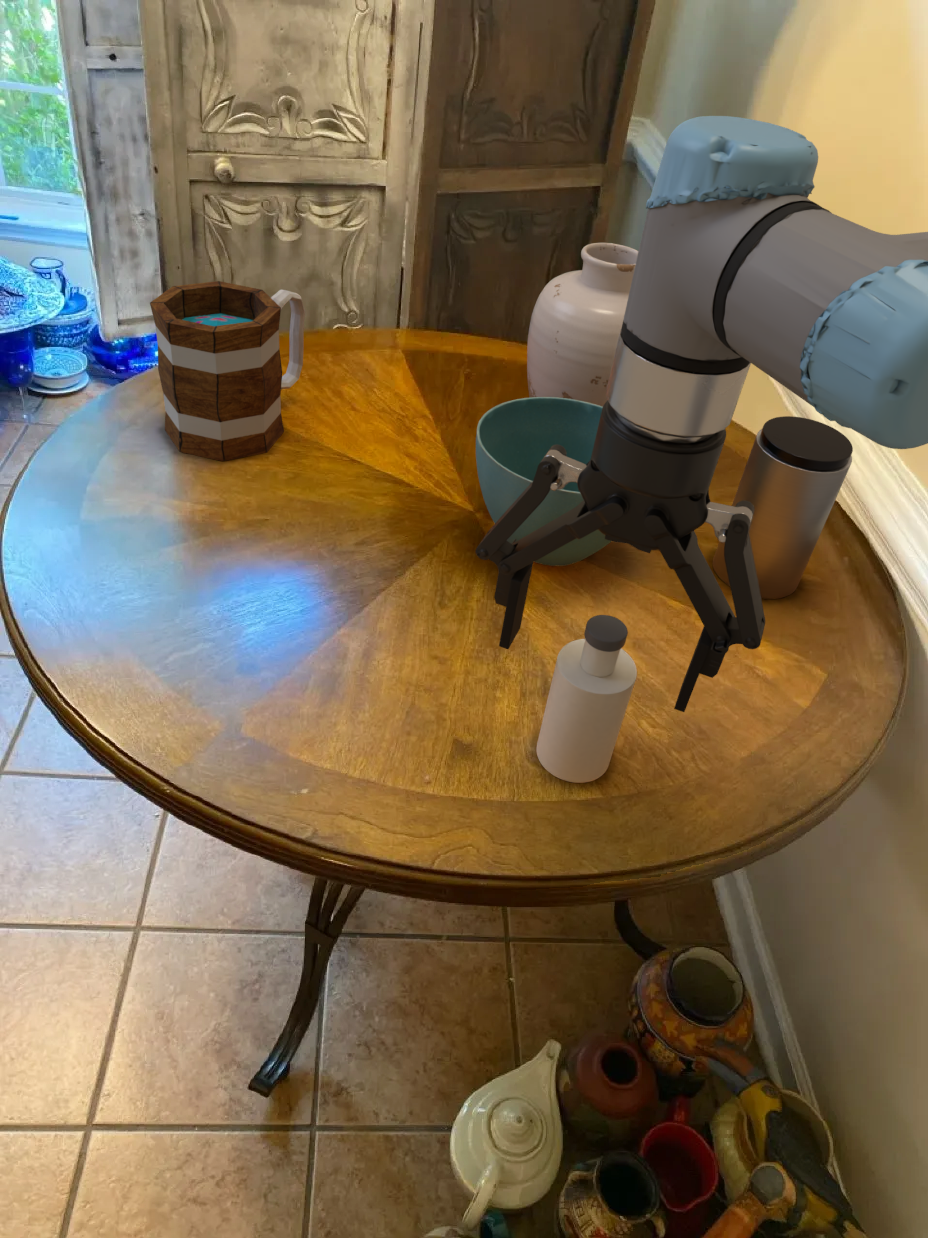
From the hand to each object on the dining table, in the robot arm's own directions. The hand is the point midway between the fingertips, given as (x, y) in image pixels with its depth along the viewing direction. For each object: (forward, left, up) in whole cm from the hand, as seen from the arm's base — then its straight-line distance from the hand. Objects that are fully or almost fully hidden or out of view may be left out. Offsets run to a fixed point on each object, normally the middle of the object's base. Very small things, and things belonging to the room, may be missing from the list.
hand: (594, 667), depth 68 cm
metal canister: (+8, -34, -10) cm, 36 cm away
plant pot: (+23, -18, -10) cm, 31 cm away
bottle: (0, 0, -10) cm, 10 cm away
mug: (+60, -2, -10) cm, 61 cm away
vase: (+38, -36, -10) cm, 53 cm away
